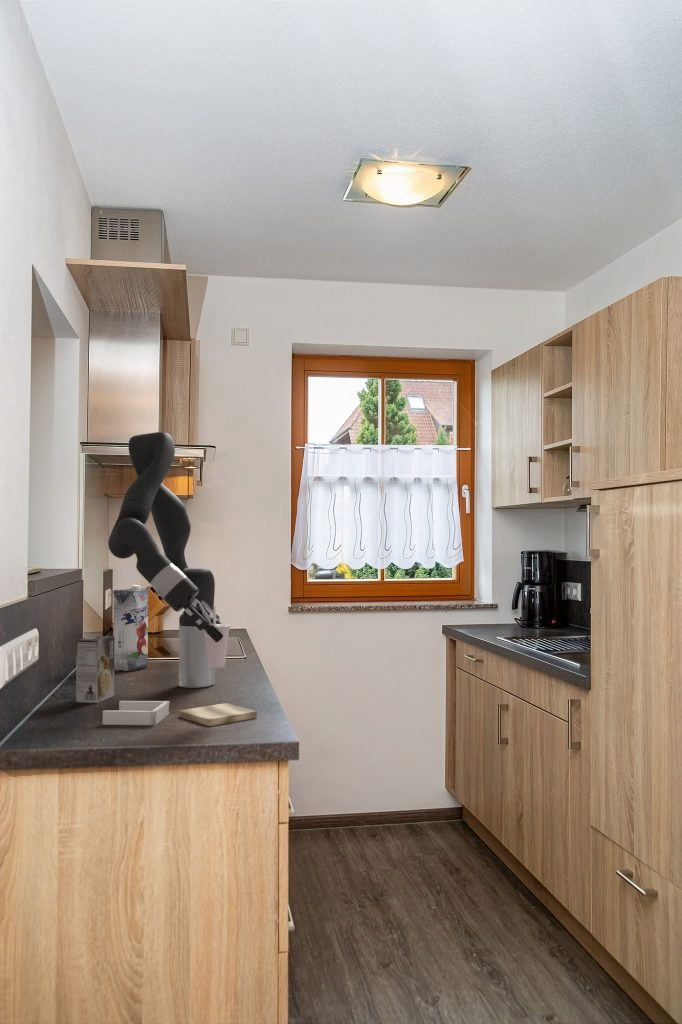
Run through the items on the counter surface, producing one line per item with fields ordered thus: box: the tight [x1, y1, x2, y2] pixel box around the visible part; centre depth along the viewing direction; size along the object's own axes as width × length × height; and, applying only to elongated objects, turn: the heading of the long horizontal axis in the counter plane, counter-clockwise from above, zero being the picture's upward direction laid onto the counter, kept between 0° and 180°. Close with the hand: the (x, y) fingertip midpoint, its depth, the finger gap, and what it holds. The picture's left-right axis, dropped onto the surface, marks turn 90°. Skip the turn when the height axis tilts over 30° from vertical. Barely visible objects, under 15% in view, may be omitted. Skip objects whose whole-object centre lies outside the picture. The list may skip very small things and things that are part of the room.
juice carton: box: [112, 584, 149, 672], centre depth 265 cm, size 9×10×27 cm
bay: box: [102, 700, 171, 726], centre depth 191 cm, size 12×12×3 cm
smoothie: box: [205, 606, 231, 669], centre depth 193 cm, size 6×6×14 cm
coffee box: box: [75, 635, 115, 704], centre depth 215 cm, size 9×6×16 cm
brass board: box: [178, 702, 258, 727], centre depth 193 cm, size 13×13×2 cm
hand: (223, 637), depth 193 cm, fingers closed on smoothie, 6 cm apart
